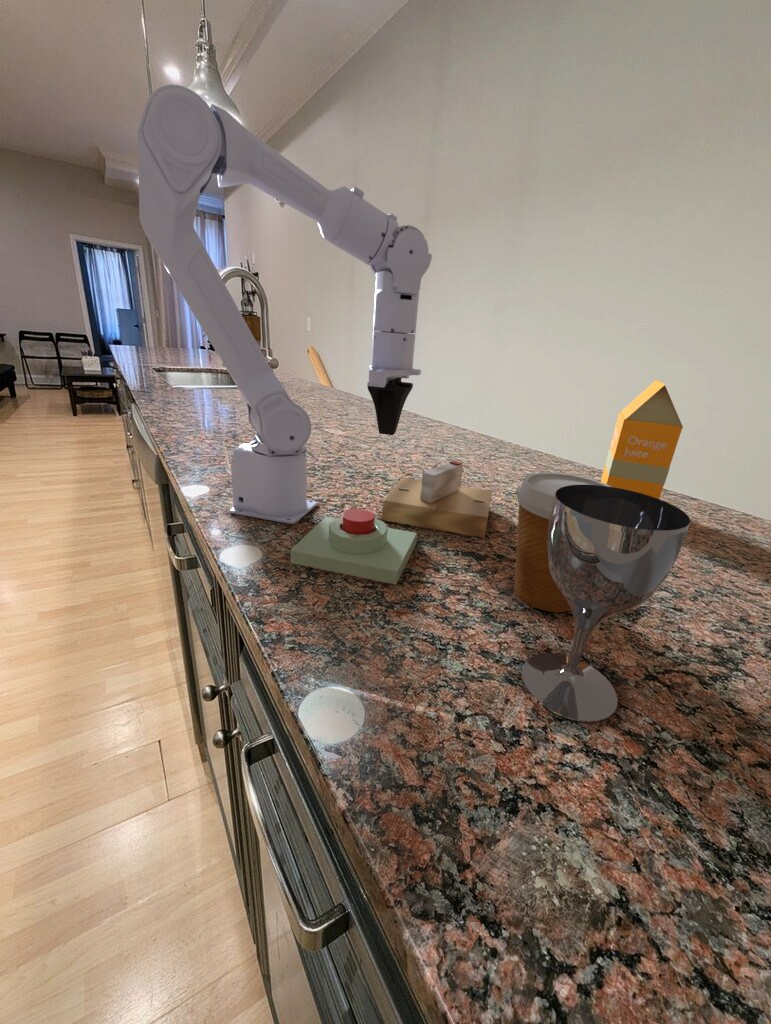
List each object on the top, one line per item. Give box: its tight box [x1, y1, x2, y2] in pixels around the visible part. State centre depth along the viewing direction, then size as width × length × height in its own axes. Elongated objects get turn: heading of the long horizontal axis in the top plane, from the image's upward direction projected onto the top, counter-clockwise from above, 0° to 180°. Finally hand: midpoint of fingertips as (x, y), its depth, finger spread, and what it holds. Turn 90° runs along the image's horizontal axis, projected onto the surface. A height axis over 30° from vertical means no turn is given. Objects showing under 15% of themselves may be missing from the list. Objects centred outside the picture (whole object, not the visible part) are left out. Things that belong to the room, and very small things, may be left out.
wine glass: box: [521, 485, 691, 723], centre depth 32 cm, size 8×8×15 cm
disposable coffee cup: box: [513, 471, 611, 613], centre depth 44 cm, size 10×10×12 cm
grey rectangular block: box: [420, 460, 464, 503], centre depth 63 cm, size 8×2×4 cm, turn 142°
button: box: [342, 508, 376, 535], centre depth 50 cm, size 4×4×2 cm
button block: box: [289, 516, 418, 585], centre depth 51 cm, size 12×10×4 cm
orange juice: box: [600, 379, 684, 499], centre depth 69 cm, size 8×9×20 cm
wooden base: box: [381, 477, 493, 538], centre depth 64 cm, size 14×12×3 cm
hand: (387, 433), depth 65 cm, fingers closed
